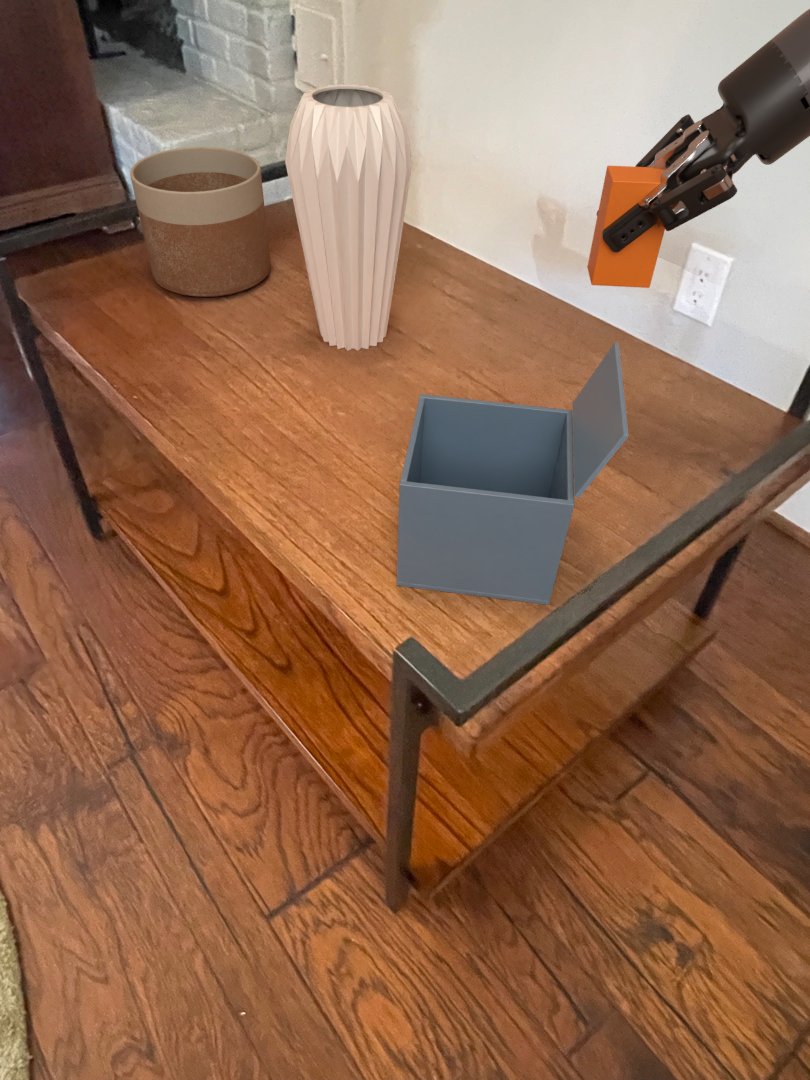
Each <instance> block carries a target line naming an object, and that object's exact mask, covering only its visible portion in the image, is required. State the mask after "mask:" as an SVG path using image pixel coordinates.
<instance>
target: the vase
mask: <svg viewBox="0 0 810 1080" xmlns="http://www.w3.org/2000/svg"><path fill="white" fill-rule="evenodd" d="M412 157H413V155H412V150H411V145H410V139H409V134H408V129H407V125H406V123H405V121H404V119H403V116H402V114H401V112H400V109H399V108H398V105H397V104H396V101H395V98H394V97H393V95H392V94H390V93H389V92H388V90H384V89H383V90H382V89H381V88H380V87H372V86H371V87H370V86H369V85H368V84H363V85H359V84H357V83H351V84H346V83H339V84H331V83H330V84H327V86H324V85H322V86H321V85H317V87H316V88H309V89H308V90H307V92H303V94H302V95H301V98H300V101H299V103H298V105H297V107H296V110H295V112H294V115H293V116H292V119H291V121H290V125H289V130H288V137H287V145H286V152H285V159H284V162H285V167H286V172H287V177H288V182H289V187H290V192H291V198H292V202H293V208H294V212H295V217H296V222H297V227H298V230H299V232H298V233H299V238H300V241H301V247H302V251H303V256H304V257H303V258H304V261H305V262H304V263H305V266H306V271H307V276H308V280H309V286H310V290H311V295H312V300H313V305H314V311H315V315H316V320H317V324H318V329H319V333H320V337H322V339H323V342H324V343H328V346H329V347H334V346H336V348H337V350H341V349H345V350H346V352H349V351H351V350H355V351H356V352H359V351H361V349H364V350H369V349H370V347H377V346H378V343H384V338H386V337H387V331H388V326H389V319H390V314H391V313H390V312H391V307H392V300H393V293H394V288H395V287H394V286H395V280H396V274H397V269H398V268H397V267H398V262H399V261H398V260H399V254H400V249H401V248H400V247H401V241H402V236H403V229H404V221H405V217H406V208H407V202H408V195H409V189H410V183H411V177H412V176H411V175H412V170H413V169H412V168H413V159H412Z"/></svg>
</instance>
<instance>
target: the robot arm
mask: <svg viewBox="0 0 810 1080" xmlns="http://www.w3.org/2000/svg"><path fill="white" fill-rule="evenodd" d="M717 93H718V95H719V97H720V99H721V100H722V102H723V103H722V106H721V107H719V108H718V109H716V110H714V111H713V112H711V113H710V114H708V115H706V116H704V117H703V118H702V119H700V120H698V121H696V122H695V121H694V119H693V118H692V117H691V115H690V113H689V114H685V115H684V116H682V117H681V118H680V119H678V121H677V122H676V123H675V124H674V125H673V126H672V127H671V128H670V130H668V132H666V134H664V135H663V136H662V138H661V139H660V140H658V142H657V143H656V144H655V145H654V146H653V147H652V148H651V149H650V150H649V151H648V152H647V153H646V154H645V155H644V156H643V157H642V158H641V159H640V160H639V161H638V162H637V163H636V164H635V166H634V167H654V168H657V169H666V170H665V171H664V172H663V173H662V175H661V183H660V184H659V185H658V186H657V187H655V188H654V189H653V190H652V191H651V192H650V193H649V194H648V195H647V196H646V197H644V198H643V199H642V201H641V202H640V205H639V204H638V203H637V204H636V205H634V206H633V207H632V208H631V209H629V210H628V211H627V212H625V213H624V214H623V215H622V216H620V217H619V218H618V219H617V220H615V221H614V222H613V223H611V224H610V225H609V226H608V227H606V228H605V229H604V230H603V231H602V237H603V240H604V241H605V242H606V244H607V245H608V246H609V248H610V249H611V250H612V251H613V252H619V251H621V250H622V249H623V248H625V247H626V246H627V245H629V244H630V243H631V242H633V241H634V240H635V239H637V238H638V237H639V236H641V235H642V234H643V233H644V232H646V231H647V230H648V229H650V228H651V227H652V226H653V225H655V226H656V227H660V226H663V227H664V228H665V232H670V231H672V230H674V229H676V228H678V227H680V226H683V225H684V224H686V223H687V222H689V221H691V220H693V219H696V218H697V217H699V216H701V215H703V214H705V213H706V212H709V211H710V210H712V209H714V208H717V207H718V206H719V205H722V204H724V203H725V202H727V201H729V200H731V199H732V198H734V197H735V196H736V194H737V193H738V188H737V187H736V185H735V183H734V181H733V176H734V175H735V174H736V173H738V172H739V171H740V170H741V169H742V168H743V166H744V165H745V164H746V163H747V162H748V161H749V160H750V159H752V158H753V156H756V157H757V159H758V160H759V161H760V163H762V164H763V165H765V166H766V165H767V166H768V165H769V166H770V165H772V164H774V163H775V162H777V161H778V160H779V159H781V158H782V157H784V156H785V155H786V154H788V153H789V152H790V151H792V150H793V149H794V148H796V147H797V146H799V145H800V144H802V143H803V142H804V141H806V140H807V139H808V138H809V137H810V8H808V9H807V10H805V11H804V12H803V13H801V14H800V15H799V16H798V17H796V18H795V19H794V20H793V21H791V22H790V23H789V24H788V25H787V26H786V27H784V28H783V29H782V30H780V31H779V32H778V33H777V34H776V35H774V36H773V37H772V38H771V39H770V40H769V41H767V42H766V43H765V44H764V45H763V46H761V47H760V48H759V49H758V50H756V51H755V52H754V53H753V54H751V55H750V56H749V57H748V58H747V59H745V60H744V61H743V62H742V63H740V65H738V66H737V67H736V68H735V69H733V70H732V71H731V72H730V73H729V74H727V75H726V76H724V77H723V78H722V79H721V80H720V81H719V83H718V85H717ZM667 191H670V192H668V193H666V192H667ZM665 193H666V194H665ZM664 194H665V195H664ZM597 215H598V210H597V211H596V216H597Z"/></svg>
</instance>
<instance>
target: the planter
mask: <svg viewBox="0 0 810 1080" xmlns="http://www.w3.org/2000/svg"><path fill="white" fill-rule="evenodd" d="M129 177H130V180H131V181H130V182H131V185H132V190H133V194H134V199H135V204H136V206H137V207H136V208H137V212H138V217H139V222H140V227H141V230H142V235H143V239H144V244H145V249H146V252H147V257H148V262H149V267H150V272H151V275H152V278H153V280H154V281H155V282H156V283H157V284H158V286H160V287H162V288H163V289H165V290H167V291H169V292H171V293H175V294H178V295H183V296H187V297H188V296H189V297H197V298H211V297H212V298H215V297H222V296H224V297H225V296H229V295H234V294H238V293H241V292H243V291H246V290H249V289H251V288H253V287H255V286H257V285H258V284H259V283H261V282H263V280H265V279H266V277H267V276H268V275H269V273H270V270H271V256H270V247H269V238H268V237H269V236H268V228H267V217H266V208H265V197H264V189H263V188H264V187H263V179H262V169H261V165H260V163H259V161H258V160H257V159H256V158H254V157H253V156H252V155H249V154H248V153H245V152H243V151H239V150H236V149H231V148H226V147H218V146H185V147H176V148H171V149H165V150H162V151H158V152H155V153H151V154H150V155H147V156H145V157H142V158H141V159H139V160H137V162H135V163H134V164H133V165H132V167H131V168H130V171H129Z"/></svg>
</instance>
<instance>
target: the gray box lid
mask: <svg viewBox="0 0 810 1080" xmlns="http://www.w3.org/2000/svg"><path fill="white" fill-rule="evenodd" d="M624 388H625V387H624V381H623V369H622V360H621V352H620V344H619V343H617V342H613V344H612V345H611V347H610V348H609V349H608V351H607V353H606V354H605V355H604V357H603V358H602V359H601V361H600V363H599V364H598V365H597V367H596V368H595V369H594V371H593V372H592V374H591V375H590V376H589V378H588V380H587V381H586V383H585V384H584V385H583V387H582V388H581V389H580V391H579V393H578V394H577V396H576V397H575V398H574V400H572V401H573V402H572V412H573V460H574V498H577V499H580V498H581V497H582V495H583V494H584V493H585V492H586V491H587V489H588V488H589V487H590V486H591V484H592V483H593V482H594V481H595V480H596V478H597V477H598V476H599V474H600V473H601V472H602V470H603V469H604V468H605V467H606V465H608V463H609V462H610V461H611V460H612V458H613V457H614V456H615V454H616V453H617V452H618V451H619V449H620V448H621V447H622V446H623V444H624V443H625V442H626V441H627V439H628V438H629V427H628V418H627V417H628V416H627V407H626V398H625V389H624Z"/></svg>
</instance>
